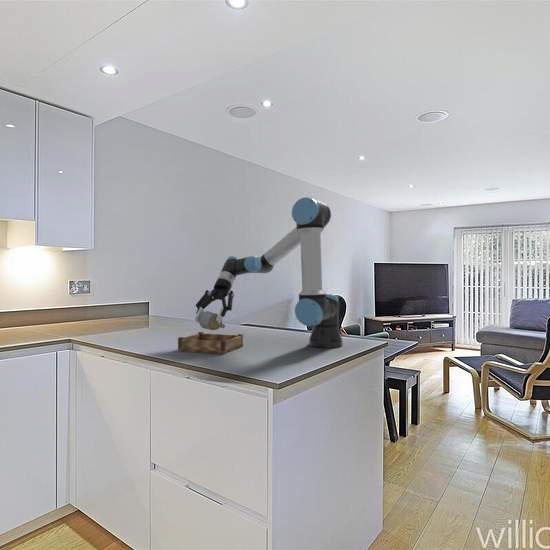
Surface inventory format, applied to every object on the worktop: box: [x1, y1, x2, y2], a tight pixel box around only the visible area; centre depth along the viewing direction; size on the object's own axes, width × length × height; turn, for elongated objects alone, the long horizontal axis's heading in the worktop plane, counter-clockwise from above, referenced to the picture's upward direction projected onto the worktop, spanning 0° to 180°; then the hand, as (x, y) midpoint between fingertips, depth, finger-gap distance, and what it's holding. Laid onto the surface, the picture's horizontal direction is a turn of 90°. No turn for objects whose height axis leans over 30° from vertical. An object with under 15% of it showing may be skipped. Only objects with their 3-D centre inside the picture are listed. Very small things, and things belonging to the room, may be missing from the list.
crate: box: [177, 331, 244, 355], centre depth 173 cm, size 22×18×6 cm
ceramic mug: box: [198, 310, 226, 331], centre depth 174 cm, size 11×8×8 cm
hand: (207, 321), depth 170 cm, fingers closed on ceramic mug, 10 cm apart
